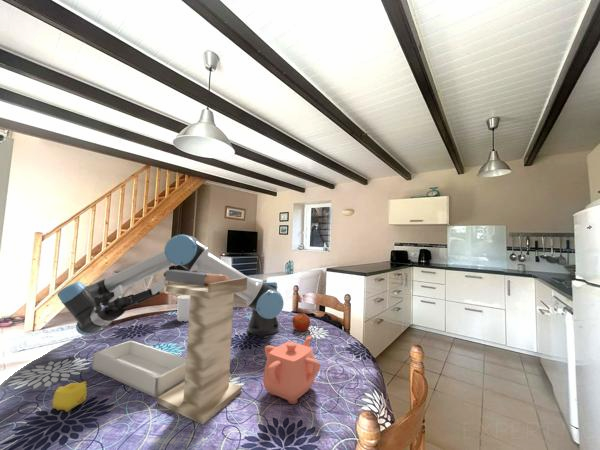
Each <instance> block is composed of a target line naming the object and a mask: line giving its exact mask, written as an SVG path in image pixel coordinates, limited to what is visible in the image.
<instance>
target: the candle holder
mask: <svg viewBox="0 0 600 450" xmlns="http://www.w3.org/2000/svg"><path fill="white" fill-rule="evenodd" d="M190 297H191V296H190V295H184V294H180V295H179V296H177V297H176V299H177V303H176V304H177V305H176V307H177V309H176V310H177V311H176V320H177V321H178V322H182V321H184V322H189V311H190Z"/></svg>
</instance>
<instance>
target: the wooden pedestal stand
mask: <svg viewBox="0 0 600 450" xmlns="http://www.w3.org/2000/svg"><path fill="white" fill-rule="evenodd" d="M244 290H247V278H246V277H244V278H238V279H233V280H227V281H221V282H216V283H210V284H208V285H206V286H201V285H194V284H187V283H176V284H175V283H174V284H169V285H168V284H167V285H165V292H168V293H172V294H178V295H190V296H191V297H190V311H189V321H188V325H187V326H188V329H187V330H188V331H187V342H186V343H187V344H186V345H187V346H186V356H185V358H186V369H185V381H184V382H183V383H181V384H179V385H178V386H176V387H174V388H172V389H171V390H169V391H167V392H166V393H164V394H162V395H161V396H159V397H157V401H156V402H157V404H158V405H160V406H161V407H164V408H166V409H168V410H171V412H175V413H177V414H179V415H181V416H183V417H185V418H187V419H189V420H192V421H194V422H196V423H197V424H199V425H203V426H204V425H205V424H206V423H207V422H208V421H209V420H210V419H211V418H213V417H214V416H215V415H216V414H217V413H219V412H220V411H221V410H222V409H223V408H224V407H226V406H227V405H228V404H229V403H230V402H232V401H233V400H234V399H235V398H237V396H239V395H240V394H241V393H242V388H243V386H242V385H239V384H236V383H233V382H230V370H231V369H230V368H231V367H230V366H231V355H232V354H231V350H232V334H233V333H232V332H233V318H234V317H233V313H234V312H233V311H234V297H235V293H236V292H240V291H244Z"/></svg>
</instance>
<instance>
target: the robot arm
mask: <svg viewBox="0 0 600 450" xmlns="http://www.w3.org/2000/svg"><path fill="white" fill-rule="evenodd" d="M172 266H175V267H177V266H180V267H182V268H184V269H186V271H192V272H201V273H210V274H218V275H227V276H228V277H229V280H233V279H238V278H244V277H246V278H247V290H244V291H240V292H236V293H234V295H236V296H238V297H239V298H241V299H243V300H245V304H246V306H247V307H248V308H250V309H252V313H251V317H250V319H249V321H248V325H247V331H248V333H250V334H253V335H257V336H264V335H265V336H268V335H269V336H270V335H273V334H276V333H277V332H279V330H280V323H279V320H278V316H279V315H280V314H281V312H282V311H283V309H284V304H285V303H284V298H283V296H282V294H281V293H280V292H279V291H278V283H277V282H275V281H257V282H256V280H254V279H252V278H250V277H249V276H247V275H245V274H243V272H241V271H239V270H237V269H236V268H234V267H233V266H231V265H229V264H228V263H227V262H224V261H223V260H221V259H220V258H218V257H216V256H215V255H214V254H212V253H210V251H209V247H208V246H207V245H205V244H203V243H202V242H200V240H198V239H197V237H195V236H193V235H188V234H185V233H182V234H177V235H174V236H172V237H170V239H168V241H167V242H166V243H165V246H164V250H163V251H160V252H159V253H156V254H155V255H153V256H150V257H148V258H146V259H144V260H142V261H139V262H138V263H135V264H133V265H131V266H129V267H127V268H125V269H122V270H120V271H119V272H117V273H114V274H112V275H109V276H108V277H105V278H104V279H103V278H102V279H101V280H99V281H97V282H95V283H93V284H89V285H85V284H84V283H83V282H81V281H76V282H73V283H71V284H69V285H67V286H65V287H63V288H61V290H59V291H58V292H57V297H58V298H59V301H61V304H63V305H64V307H65V308H66V309H67V310H68V311H69V313H70V314H71V315H72V316H73V317H74V319H75V321H76V324H75V330H76V332H77V333H78V334H81V335H83V336H89V335H93V334H96V333H97V332H99V331H101V330H102V329H103V328H105V327H107V326H109V325H110V324H111V323H112V322H113V321H115V320H117V319H118V318H120V317H121V316H122V315H123V314H124V313H125V312H126V310H127V308H129V307H131V306H133V305H135V306H138V305H139V304H141V303H144V302H146V301H147V300H151V299H152V298H154V297H156V296H159V295H161V292H160V291H162V290H163V289H166V284H165V281H164V280H165V279H161V280H159V281H158V282H156V283H155V284H154V285H152V286H151V287H150V288H149V289H147V290H144V291H141V292H138V293H136V294H129V295H127V296H122V295H123V294H124V290H125V289H127V288H129V287H131V286H134V285H135V284H137V283H139V282H141V281H143V280H145V279H146V280H147V278H150V277H152V276H154V275H156V274H159V273H160V272H162V271H164V270H166V269H168V268H170V267H172Z"/></svg>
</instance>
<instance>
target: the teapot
mask: <svg viewBox="0 0 600 450" xmlns="http://www.w3.org/2000/svg"><path fill="white" fill-rule="evenodd" d="M312 337H313V335H311V334H310V335H308V336H307V337H306V338H305V340H304V343H303V344H301V343H297V342H294V341H286V342H283V343H281V344H280V345H277V346H275V345H265V348H264V352H265V357H266V363H265V366H264V371H263V378H262V379H263V380H262V381H263V383H262V384H263V387H264V390H265V391H267V392H269V394H270V395H271V396H277V397H279V398H282V399H284V400H286V401H287V402H288V403H289V404H291V405H296V404H297V403H298V402H299V401H298V399H299V398H300V397H302V396H304V395H305V394H306V393H307V392H309V391H310V388H312V386H313V384H314V382H315V381H316V380H315V379H316V375H317V374H318V373H319V372H320V370H321V363H320V361H318V360H317V359H315V355H314V350H313V347H311V345H310V343H311V340H312Z"/></svg>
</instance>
